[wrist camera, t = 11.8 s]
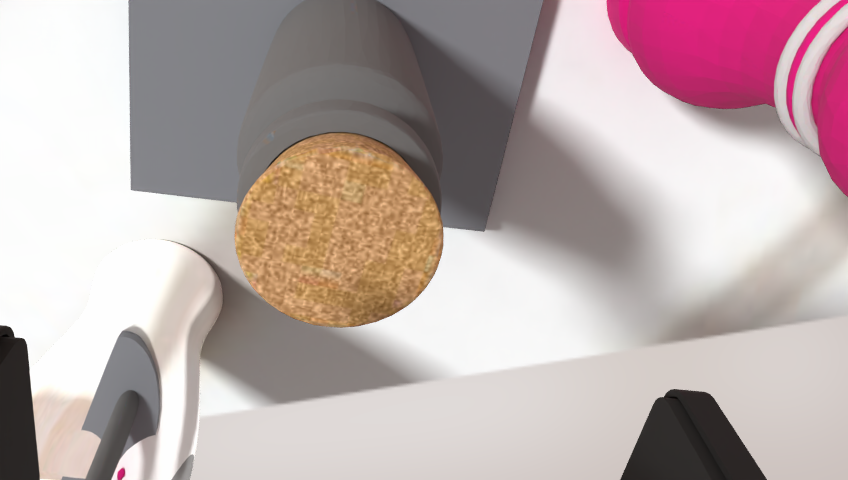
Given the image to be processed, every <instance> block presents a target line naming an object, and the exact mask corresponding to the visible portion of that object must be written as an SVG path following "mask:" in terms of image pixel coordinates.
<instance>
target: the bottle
mask: <svg viewBox="0 0 848 480" xmlns="http://www.w3.org/2000/svg"><path fill="white" fill-rule="evenodd" d="M237 166H238V172H239V182H238V188H237V210H238V215H237V219H236V225H235V246H236V253H237V256H238V259H239V263H240V266H241V268H242V270H243V272H244V275H245V277H246V278H247V280H248V281H249V283H250V284H251V286H252V287H253V288H254V289H255V291H256V292H257V293H258V294H259V295H260V296H261V297H262V298H263V299H264V300H265V301H266V302H267V303H269V304H270V305H271V306H273V307H274V308H276V309H277V310H279V311H280V312H282V313H284V314H286V315H288V316H290V317H292V318H294V319H297V320H300V321H303V322H306V323H310V324H313V325H319V326H326V327H340V328H342V327H355V326H361V325H365V324H369V323H373V322H377V321H379V320H382V319H384V318H387V317H389V316H392V315H393V314H395V313H397V312H398V311H400V310H402V309H403V308H405V307H406V306H408V305H409V304H410V303H411V302H413V301H414V300H415V299H416V298H417V297H418V296H419V295H420V294H421V292H422V291H423V290H424V289H425V288H426V287H427V285H428V284H429V282H430V281H431V279H432V278H433V276H434V274H435V272H436V270H437V267H438V264H439V261H440V258H441V255H442V249H443V223H442V219H441V216H440V215H441V206H442V194H441V186H440V178H441V173H442V168H443V150H442V144H441V138H440V133H439V129H438V126H437V122H436V119H435V115H434V112H433V109H432V106H431V103H430V99H429V96H428V93H427V90H426V87H425V83H424V80H423V77H422V74H421V71H420V68H419V65H418V62H417V59H416V56H415V53H414V50H413V47H412V44H411V41H410V39H409V37H408V35H407V33H406V31H405V29H404V27H403V26H402V24H401V22H400V21H399V20H398V19H397V17H396V16H395V15H394V14H393V13H392V12H391V11H390V10H389V9H388V8H386V7H385V6H384V5H382V4H381V3H380V2H378V1H376V0H305V1H303V2H302V3H300V4H299V5H297V6H296V7H295V8H294V9H293V10H291V11H290V13H289V14H288V15H287V16H286V17H285V18H284V20H283V21H282V23H281V24H280V26H279V28H278V30H277V32H276V34H275V36H274V39H273V41H272V43H271V45H270V48H269V51H268V53H267V56H266V59H265V61H264V64H263V67H262V69H261V72H260V75H259V77H258V80H257V83H256V86H255V88H254V91H253V94H252V97H251V99H250V102H249V105H248V108H247V111H246V114H245V117H244V120H243V123H242V126H241V130H240V134H239V138H238V146H237Z"/></svg>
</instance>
